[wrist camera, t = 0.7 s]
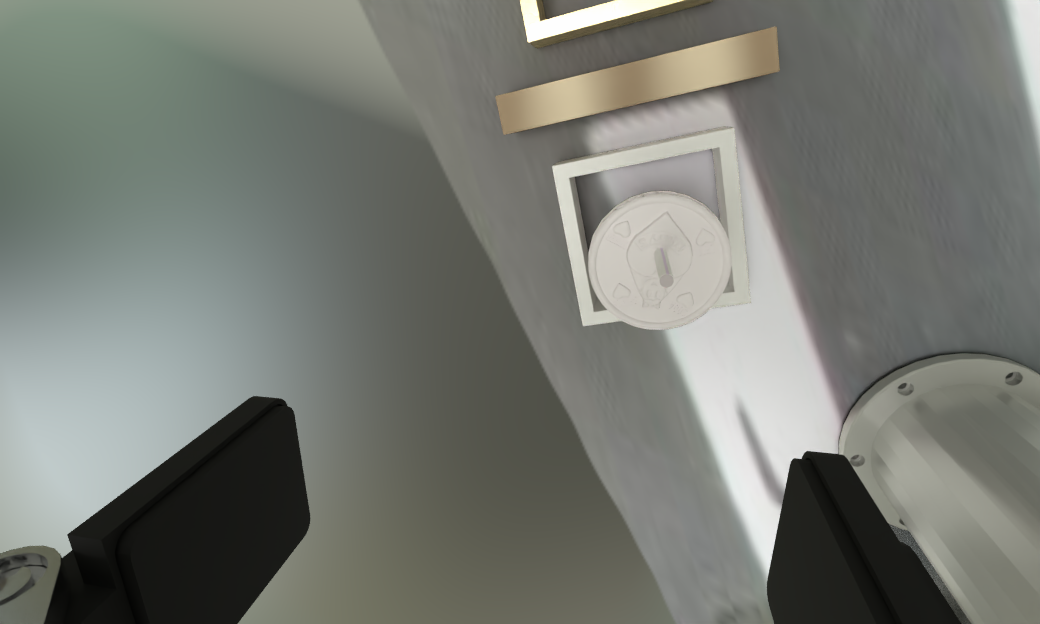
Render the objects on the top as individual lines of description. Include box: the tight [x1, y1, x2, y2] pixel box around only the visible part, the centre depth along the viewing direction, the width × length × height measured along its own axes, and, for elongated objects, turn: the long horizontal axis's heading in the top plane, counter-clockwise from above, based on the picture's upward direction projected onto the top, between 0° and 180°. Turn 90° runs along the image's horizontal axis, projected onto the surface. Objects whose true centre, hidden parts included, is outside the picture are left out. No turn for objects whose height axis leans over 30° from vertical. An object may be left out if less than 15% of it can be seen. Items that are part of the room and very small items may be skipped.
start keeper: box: [552, 127, 751, 326], centre depth 32 cm, size 10×10×3 cm
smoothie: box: [588, 191, 732, 330], centre depth 27 cm, size 6×6×14 cm
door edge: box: [495, 27, 780, 135], centre depth 30 cm, size 14×2×4 cm, turn 103°
